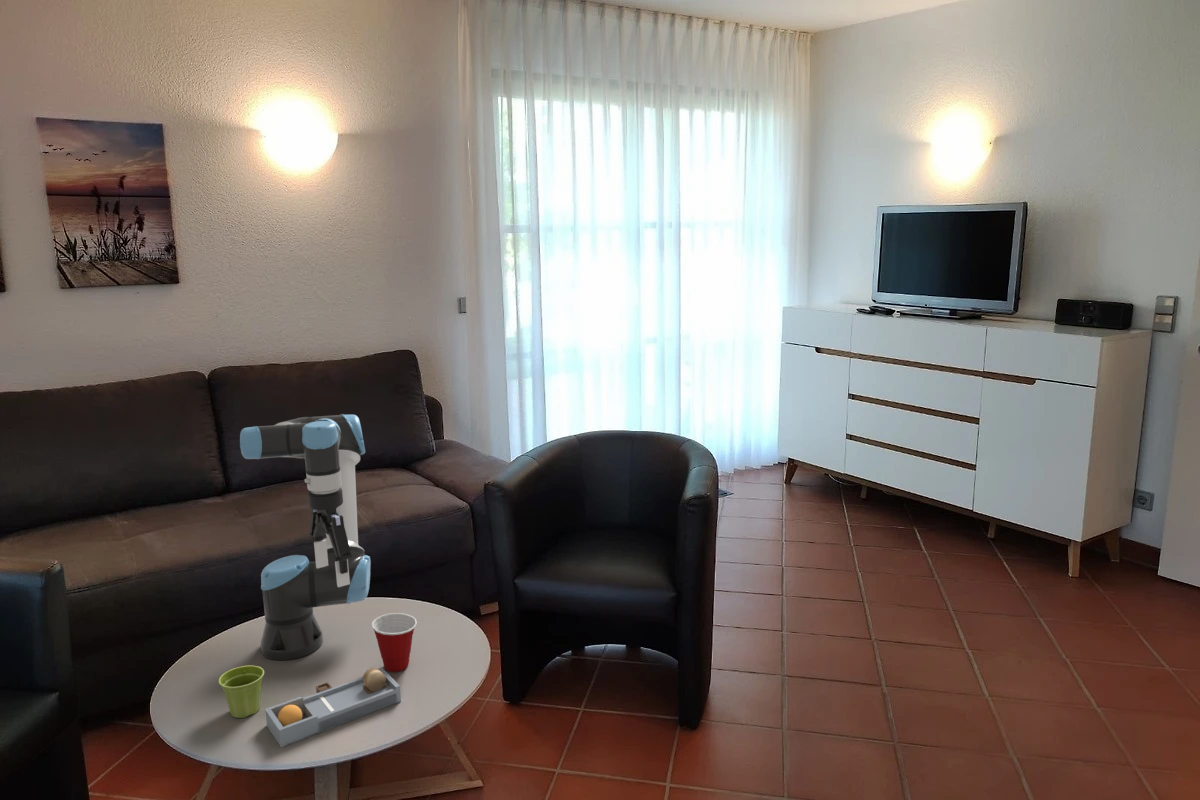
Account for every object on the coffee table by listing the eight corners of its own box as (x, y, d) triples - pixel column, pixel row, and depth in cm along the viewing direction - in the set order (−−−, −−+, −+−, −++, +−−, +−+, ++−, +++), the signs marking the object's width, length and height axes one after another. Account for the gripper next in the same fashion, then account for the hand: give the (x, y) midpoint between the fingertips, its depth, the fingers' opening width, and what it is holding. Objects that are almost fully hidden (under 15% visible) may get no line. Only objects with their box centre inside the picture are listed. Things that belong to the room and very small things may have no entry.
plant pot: (234, 698, 193) (230, 664, 191) (274, 699, 193) (270, 664, 191) (215, 722, 184) (210, 687, 182) (257, 722, 184) (253, 687, 182)
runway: (266, 725, 183) (264, 709, 182) (383, 682, 199) (381, 667, 198) (281, 747, 175) (279, 730, 174) (401, 701, 191) (399, 685, 190)
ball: (295, 712, 185) (273, 722, 182) (296, 696, 183) (274, 705, 180) (305, 727, 182) (283, 738, 179) (306, 711, 180) (284, 721, 177)
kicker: (363, 688, 192) (361, 671, 191) (381, 682, 194) (379, 665, 193) (368, 694, 189) (366, 676, 189) (386, 687, 192) (385, 670, 191)
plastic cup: (417, 676, 202) (414, 630, 199) (372, 679, 200) (368, 633, 198) (421, 653, 212) (418, 610, 210) (378, 656, 211) (375, 612, 208)
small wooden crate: (316, 696, 194) (315, 686, 193) (328, 692, 195) (327, 682, 195) (321, 701, 191) (320, 691, 191) (333, 697, 193) (332, 687, 192)
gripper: (290, 479, 198) (298, 563, 202) (328, 506, 179) (336, 598, 183) (321, 473, 202) (329, 555, 207) (362, 499, 183) (369, 588, 188)
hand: (332, 575), depth 195 cm, fingers open, 13 cm apart
